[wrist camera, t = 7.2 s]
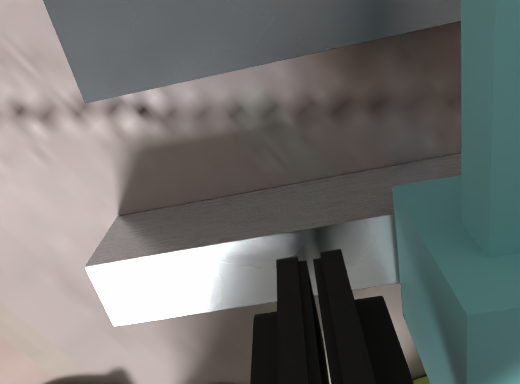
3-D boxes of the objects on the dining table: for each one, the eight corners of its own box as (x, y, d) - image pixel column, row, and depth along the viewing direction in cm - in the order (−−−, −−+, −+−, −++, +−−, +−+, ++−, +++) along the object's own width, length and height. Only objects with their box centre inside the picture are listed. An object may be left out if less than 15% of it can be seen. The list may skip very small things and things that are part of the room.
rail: (957, 61, 12) (1150, 84, 9) (917, 138, 13) (1081, 178, 11) (117, 216, 15) (84, 267, 13) (139, 269, 16) (113, 326, 14)
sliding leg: (487, -242, 8) (956, -722, 3) (478, 261, 14) (624, 460, 8) (339, -199, 9) (470, -543, 3) (387, 275, 14) (466, 475, 9)
